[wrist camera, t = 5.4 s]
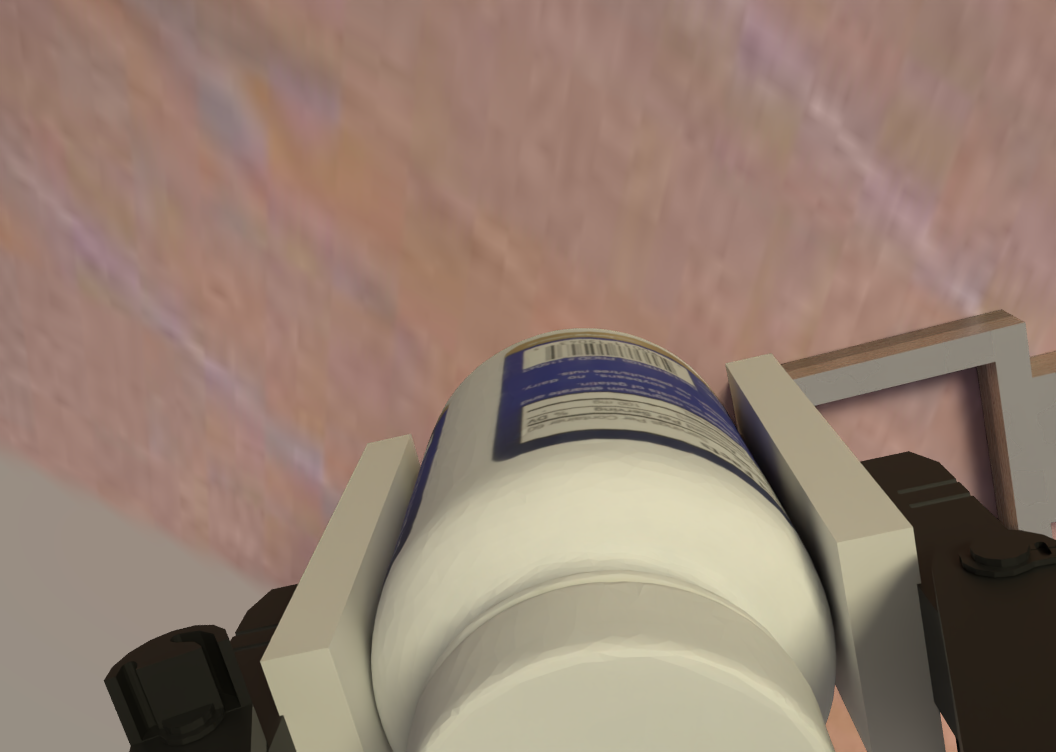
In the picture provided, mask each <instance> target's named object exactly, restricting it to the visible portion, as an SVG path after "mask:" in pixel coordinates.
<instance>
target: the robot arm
mask: <svg viewBox="0 0 1056 752" xmlns="http://www.w3.org/2000/svg"><path fill="white" fill-rule="evenodd" d="M725 365H726V370H727V376H728V381H729V386H730V391H731V396H732V401H733V407H734V412H735V417H736V422H737V427H738V432H739V434H740V435H741V437H742V439H743V440H744V442H745V444H746V445H747V447H748V449H749V450H750V452H751V454H752V455H753V457H754V459H755V461H756V462H757V464H758V466H759V467H760V469H761V471H762V472H763V474H764V476H765V478H766V479H767V481H768V483H769V484H770V486H771V488H772V489H773V491H774V493H775V494H776V496H777V498H778V500H779V502H780V503H781V505H782V507H783V508H784V510H785V511H786V513H787V515H788V517H789V519H790V520H791V522H792V524H793V526H794V527H795V529H796V530H797V532H798V534H799V536H800V538H801V540H802V542H803V544H804V546H805V547H806V549H807V551H808V553H809V555H810V557H811V559H812V562H813V564H814V567H815V569H816V571H817V573H818V576H819V578H820V581H821V583H822V585H823V588H824V591H825V594H826V597H827V600H828V604H829V607H830V611H831V616H832V621H833V627H834V633H835V643H836V656H837V659H836V680H835V685H836V687H837V689H838V691H839V693H840V695H841V697H842V700H843V702H844V704H845V706H846V708H847V710H848V712H849V714H850V716H851V718H852V721H853V723H854V725H855V727H856V729H857V731H858V733H859V735H860V737H861V740H862V742H863V744H864V746H865V748H866V750H867V752H946V751H945V744H944V737H943V730H942V723H941V717H940V712H941V714H942V716H943V717H944V719H945V721H946V722H947V724H948V725H949V727H950V729H951V730H952V732H953V733H954V735H955V737H956V744H957V751H958V752H1056V540H1054V539H1052V538H1050V537H1048V536H1046V535H1043V534H1038V533H1033V532H1028V531H1022V530H1008V529H1007V528H1006V527H1005V526H1004V525H1003V524H1002V523H1001V522H1000V521H998V520H997V519H996V518H995V517H994V516H993V515H992V514H991V513H990V512H989V511H988V510H987V509H986V508H985V507H984V506H983V505H982V504H981V503H980V502H979V501H978V500H977V499H976V498H975V497H974V496H970V492H969V491H968V490H967V489H966V488H965V487H964V486H963V485H962V484H961V483H960V482H957V481H956V478H955V477H954V476H953V475H951V474H950V473H949V472H948V471H947V470H946V469H945V468H944V467H943V466H942V465H941V464H940V463H939V462H937V461H934V460H931V459H929V458H926V457H923V456H920V455H918V454H915V453H912V452H909V451H908V452H903V453H899V454H894V455H889V456H885V457H880V458H875V459H870V460H866V461H861V462H859V460H858V459H857V458H856V457H855V455H854V454H853V453H852V452H851V450H850V449H849V448H848V447H847V446H846V444H845V443H844V442H843V441H842V439H841V438H840V437H839V436H838V435H837V433H836V432H835V431H834V430H833V428H832V427H831V426H830V425H829V423H828V422H827V421H826V420H825V419H824V417H823V416H822V415H821V414H820V412H819V411H818V410H817V409H816V408H815V406H814V405H813V404H812V403H811V401H810V400H809V399H808V398H807V397H806V395H805V394H804V393H803V392H802V390H801V389H800V388H799V387H798V385H797V384H796V383H795V382H794V381H793V379H792V378H791V377H790V376H789V374H788V373H787V372H786V371H785V370H784V368H783V367H782V366H781V365H780V363H779V362H778V361H777V360H776V358H775V357H774V356H773V355H772V354H766V355H762V356H757V357H753V358H748V359H744V360H739V361H735V362H730V363H726V364H725ZM420 468H421V466H420V463H419V460H418V456H417V453H416V449H415V446H414V442H413V439H412V436H411V434H408V435H404V436H399V437H395V438H390V439H386V440H381V441H377V442H372V443H368V444H367V446H366V448H365V450H364V452H363V454H362V456H361V458H360V460H359V462H358V464H357V466H356V468H355V470H354V472H353V474H352V476H351V478H350V480H349V482H348V484H347V486H346V488H345V491H344V493H343V495H342V497H341V499H340V501H339V503H338V505H337V507H336V509H335V511H334V513H333V515H332V517H331V519H330V521H329V523H328V525H327V527H326V529H325V531H324V533H323V535H322V537H321V539H320V541H319V543H318V545H317V547H316V549H315V551H314V553H313V555H312V557H311V559H310V561H309V563H308V566H307V568H306V570H305V572H304V574H303V576H302V578H301V580H300V582H299V584H295V585H291V586H286V587H281V588H277V589H272V590H271V591H270V592H268V593H267V594H266V595H265V596H264V597H263V598H262V599H261V600H259V601H258V602H257V603H256V604H255V605H254V606H253V607H252V608H250V609H249V610H248V611H247V613H246V615H245V616H244V618H243V620H242V621H241V623H240V625H239V627H238V629H237V630H236V632H235V633H236V636H234V637H232V639H231V641H229V638H228V636H227V633H226V630H225V629H223V628H220V627H217V626H215V625H195V626H191V627H187V628H183V629H179V630H175V631H171V632H169V633H167V634H164V635H162V636H159V637H157V638H155V639H152V640H150V641H148V642H146V643H145V644H143V645H141V646H140V647H138V648H136V649H135V650H133V651H131V652H130V653H128V654H127V655H126V656H125V657H123V658H122V659H121V660H120V661H119V662H118V663H117V664H115V665H114V666H113V667H112V668H111V670H110V672H109V673H108V675H107V676H106V678H105V680H104V682H105V685H106V687H107V690H108V692H109V694H110V696H111V699H112V702H113V704H114V706H115V709H116V711H117V714H118V716H119V719H120V721H121V723H122V726H123V728H124V731H125V733H126V735H127V738H128V740H129V743H130V745H131V747H130V751H129V752H393V750H392V748H391V746H390V744H389V741H388V739H387V736H386V734H385V731H384V729H383V726H382V723H381V719H380V716H379V713H378V709H377V706H376V701H375V696H374V690H373V681H372V670H371V653H372V637H373V630H374V625H375V617H376V612H377V608H378V604H379V600H380V595H381V591H382V587H383V583H384V580H385V577H386V574H387V570H388V568H389V565H390V562H391V558H392V555H393V552H394V549H395V546H396V543H397V540H398V537H399V534H400V531H401V528H402V524H403V521H404V518H405V514H406V511H407V508H408V505H409V502H410V499H411V496H412V493H413V489H414V486H415V483H416V480H417V477H418V474H419V471H420Z"/></svg>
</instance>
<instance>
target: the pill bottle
mask: <svg viewBox="0 0 1056 752" xmlns="http://www.w3.org/2000/svg"><path fill="white" fill-rule="evenodd" d="M836 659H837V656H836V643H835V633H834V627H833V621H832V616H831V611H830V607H829V604H828V600H827V597H826V594H825V591H824V588H823V585H822V583H821V581H820V578H819V576H818V573H817V571H816V569H815V567H814V564H813V562H812V559H811V557H810V555H809V553H808V551H807V549H806V547H805V546H804V544H803V542H802V540H801V538H800V536H799V534H798V532H797V530H796V529H795V527H794V526H793V524H792V522H791V520H790V519H789V517H788V515H787V513H786V511H785V510H784V508H783V507H782V505H781V503H780V502H779V500H778V498H777V496H776V494H775V493H774V491H773V489H772V488H771V486H770V484H769V483H768V481H767V479H766V478H765V476H764V474H763V472H762V471H761V469H760V467H759V466H758V464H757V462H756V461H755V459H754V457H753V455H752V454H751V452H750V450H749V449H748V447H747V445H746V444H745V442H744V440H743V439H742V437H741V435H740V434H739V432H738V430H737V428H736V427H735V425H734V423H733V422H732V420H731V418H730V416H729V415H728V413H727V411H726V410H725V408H724V406H723V405H722V404H721V402H720V401H719V399H718V398H717V396H716V395H715V394H714V392H713V391H712V390H711V388H710V387H709V386H708V384H707V383H706V382H705V381H704V380H703V379H702V378H701V377H700V376H699V375H698V374H697V373H696V372H695V371H694V370H693V369H692V368H691V367H690V366H689V365H688V364H686V363H685V362H684V361H682V360H681V359H680V358H678V357H677V356H675V355H674V354H672V353H671V352H669V351H667V350H666V349H664V348H662V347H660V346H658V345H656V344H654V343H651V342H649V341H647V340H644V339H642V338H639V337H636V336H633V335H629V334H626V333H622V332H617V331H612V330H604V329H595V328H575V329H565V330H556V331H552V332H548V333H543V334H540V335H537V336H534V337H531V338H528V339H526V340H523V341H521V342H518V343H516V344H514V345H512V346H510V347H508V348H506V349H504V350H502V351H501V352H499V353H497V354H496V355H494V356H493V357H491V358H490V359H488V360H487V361H485V362H484V363H483V364H481V365H480V366H478V367H477V368H476V369H475V370H474V371H473V372H472V373H471V374H470V375H469V376H468V377H467V378H466V379H465V380H464V381H463V382H462V383H461V384H460V385H459V387H458V388H457V389H456V390H455V392H454V393H453V395H452V396H451V397H450V399H449V400H448V401H447V403H446V405H445V407H444V409H443V411H442V413H441V415H440V417H439V418H438V420H437V423H436V425H435V428H434V430H433V432H432V434H431V437H430V440H429V442H428V445H427V449H426V452H425V454H424V458H423V461H422V465H421V468H420V471H419V474H418V477H417V480H416V483H415V486H414V489H413V493H412V496H411V499H410V502H409V505H408V508H407V511H406V514H405V518H404V521H403V524H402V528H401V531H400V534H399V537H398V540H397V543H396V546H395V549H394V552H393V555H392V558H391V562H390V565H389V568H388V570H387V574H386V577H385V580H384V583H383V587H382V591H381V595H380V600H379V604H378V608H377V612H376V617H375V625H374V630H373V637H372V653H371V670H372V681H373V690H374V696H375V701H376V706H377V709H378V713H379V716H380V719H381V723H382V726H383V729H384V731H385V734H386V736H387V739H388V741H389V744H390V746H391V748H392V750H393V752H835V750H834V747H833V745H832V742H831V739H830V737H829V734H828V731H827V729H826V726H825V724H826V722H827V719H828V716H829V713H830V709H831V705H832V701H833V695H834V687H835V680H836Z"/></svg>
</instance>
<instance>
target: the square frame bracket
mask: <svg viewBox="0 0 1056 752" xmlns="http://www.w3.org/2000/svg"><path fill="white" fill-rule="evenodd" d="M780 365H781V366H782V367H783V368H784V370H785V371H786V372H787V373H788V374H789V376H790V377H791V378H792V379H793V381H794V382H795V383H796V384H797V385H798V387H799V388H800V389H801V390H802V392H803V393H804V394H805V395H806V397H807V398H808V399H809V400H810V401H811V403H812V404H813V405H814V406H816V405H820V404H824V403H828V402H832V401H836V400H840V399H844V398H848V397H852V396H857V395H861V394H865V393H869V392H873V391H877V390H881V389H885V388H889V387H893V386H898V385H902V384H906V383H910V382H914V381H918V380H922V379H926V378H930V377H934V376H939V375H943V374H947V373H951V372H955V371H959V370H963V369H967V368H971V367H975V366H977V372H978V379H979V386H980V393H981V400H982V407H983V414H984V421H985V428H986V435H987V442H988V449H989V456H990V463H991V470H992V477H993V484H994V491H995V498H996V505H997V512H998V519H999V521H1000V522H1001V523H1002V524H1003V525H1004V526H1005V527H1006V528H1007V529H1008V530H1022V531H1028V532H1033V533H1038V534H1043V535H1046V536H1048V537H1050V538H1052V530H1051V523H1052V522H1056V351H1055V352H1050V353H1046V354H1042V355H1038V356H1034V357H1030V356H1029V348H1028V340H1027V332H1026V324H1025V322H1024V321H1022V320H1020V319H1018V318H1017V317H1015V316H1013V315H1011V314H1009V313H1007V312H1006V311H1004V310H998V311H994V312H990V313H985V314H981V315H977V316H973V317H969V318H965V319H961V320H957V321H953V322H949V323H945V324H941V325H937V326H933V327H929V328H925V329H921V330H917V331H913V332H909V333H905V334H901V335H897V336H893V337H889V338H885V339H881V340H877V341H873V342H869V343H865V344H861V345H857V346H853V347H849V348H845V349H841V350H837V351H833V352H829V353H825V354H821V355H817V356H813V357H808V358H804V359H800V360H796V361H792V362H788V363H784V364H780ZM737 430H738V429H737ZM1052 539H1053V538H1052Z"/></svg>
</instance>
